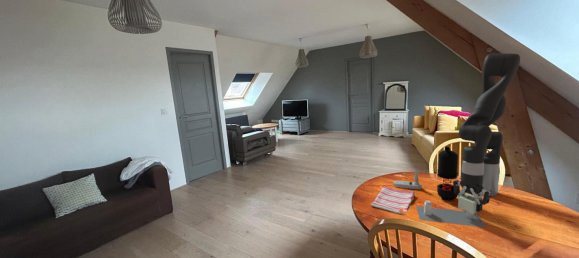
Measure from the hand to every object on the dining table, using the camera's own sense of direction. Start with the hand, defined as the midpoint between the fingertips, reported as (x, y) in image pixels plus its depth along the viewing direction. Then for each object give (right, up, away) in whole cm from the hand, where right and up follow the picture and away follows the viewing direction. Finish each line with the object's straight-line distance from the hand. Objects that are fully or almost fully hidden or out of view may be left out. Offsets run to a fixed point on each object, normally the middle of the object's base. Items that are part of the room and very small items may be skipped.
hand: (469, 207), depth 102 cm
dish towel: (-23, -5, +23) cm, 33 cm away
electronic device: (-8, -1, +38) cm, 39 cm away
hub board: (-7, -6, +4) cm, 10 cm away
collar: (0, 0, 0) cm, 0 cm away
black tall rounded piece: (+3, -3, +20) cm, 20 cm away
